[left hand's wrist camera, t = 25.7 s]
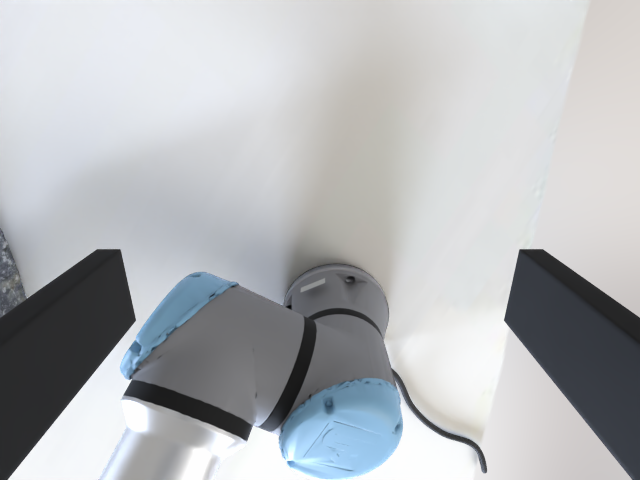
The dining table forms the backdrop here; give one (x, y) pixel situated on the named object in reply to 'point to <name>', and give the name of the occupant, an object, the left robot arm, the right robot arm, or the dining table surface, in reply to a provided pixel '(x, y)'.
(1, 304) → the concrete block
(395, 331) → the dining table surface
